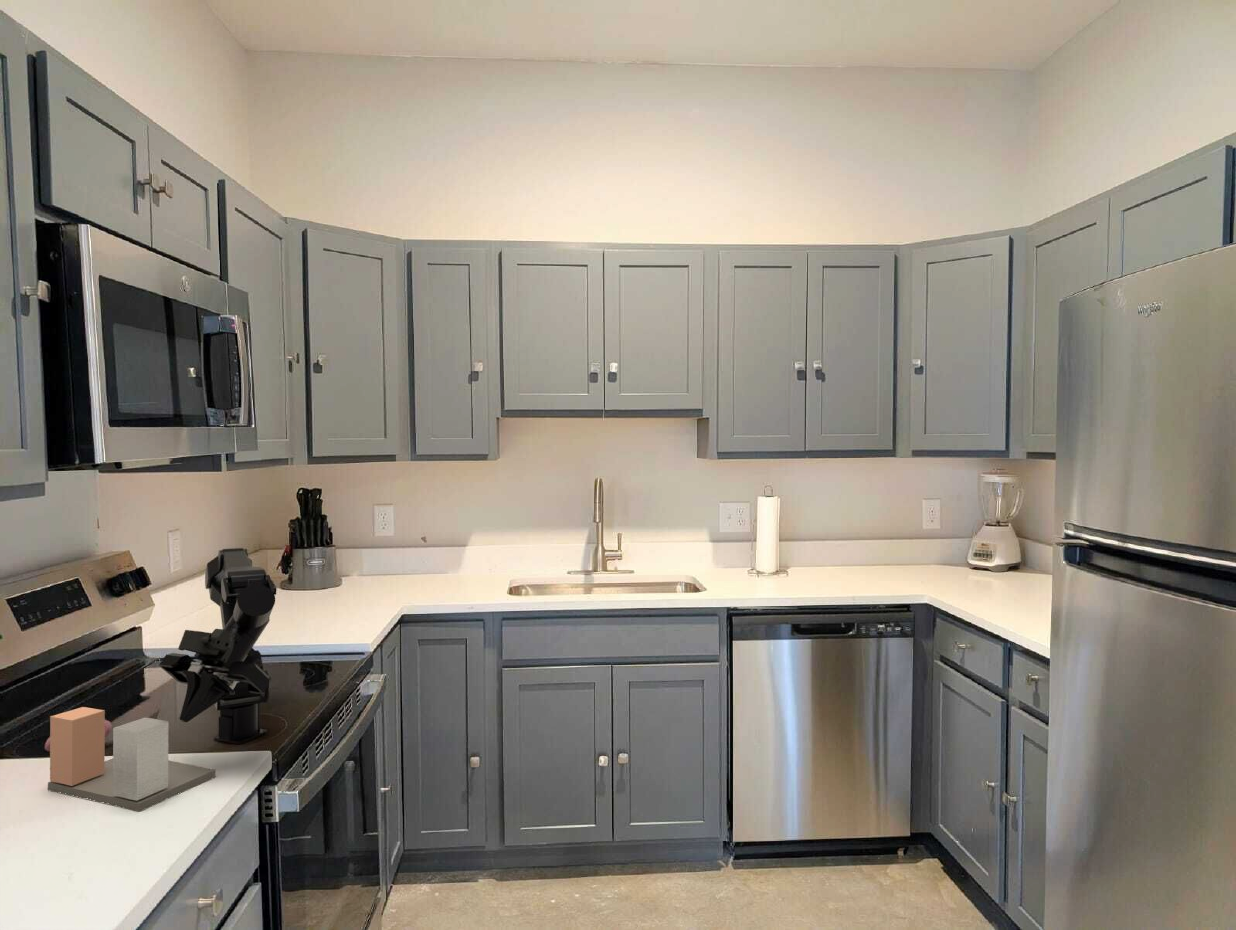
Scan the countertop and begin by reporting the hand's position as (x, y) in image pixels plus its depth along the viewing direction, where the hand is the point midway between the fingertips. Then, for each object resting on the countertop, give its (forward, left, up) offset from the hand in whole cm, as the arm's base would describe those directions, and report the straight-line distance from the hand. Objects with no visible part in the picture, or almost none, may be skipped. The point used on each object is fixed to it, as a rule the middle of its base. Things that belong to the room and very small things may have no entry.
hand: (183, 720), depth 119 cm
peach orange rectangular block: (+7, -14, -8) cm, 18 cm away
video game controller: (-4, -30, -10) cm, 32 cm away
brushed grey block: (+7, 0, -8) cm, 11 cm away
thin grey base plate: (+3, -7, -10) cm, 13 cm away
